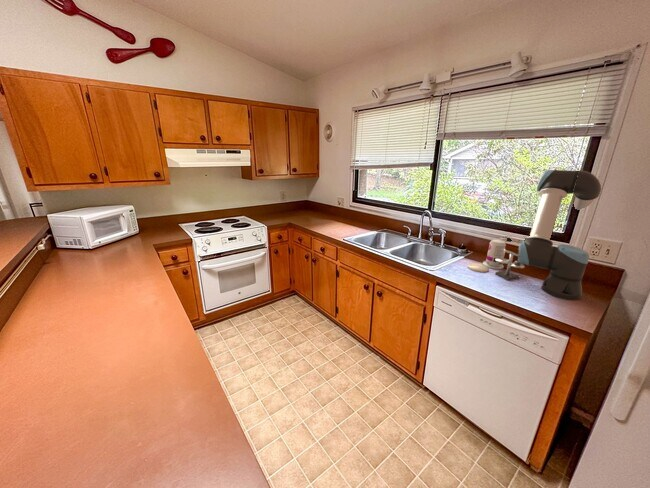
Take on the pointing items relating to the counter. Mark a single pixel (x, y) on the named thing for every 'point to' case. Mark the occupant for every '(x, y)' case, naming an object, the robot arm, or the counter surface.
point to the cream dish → (478, 267)
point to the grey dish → (493, 266)
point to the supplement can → (495, 252)
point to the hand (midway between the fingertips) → (508, 243)
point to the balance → (509, 266)
